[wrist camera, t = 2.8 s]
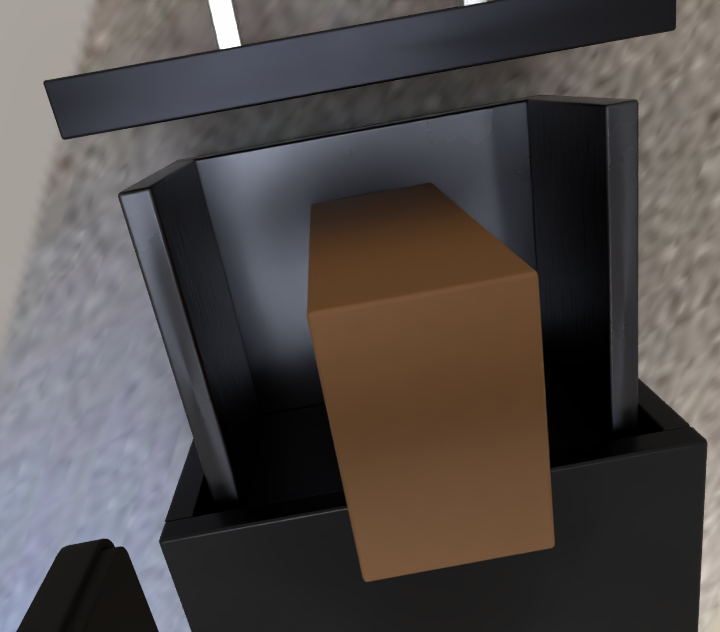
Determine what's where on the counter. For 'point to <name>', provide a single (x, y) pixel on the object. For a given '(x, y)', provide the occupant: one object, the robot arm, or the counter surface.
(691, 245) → the counter surface
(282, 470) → the drawer
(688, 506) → the black storage cabinet
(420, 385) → the block
